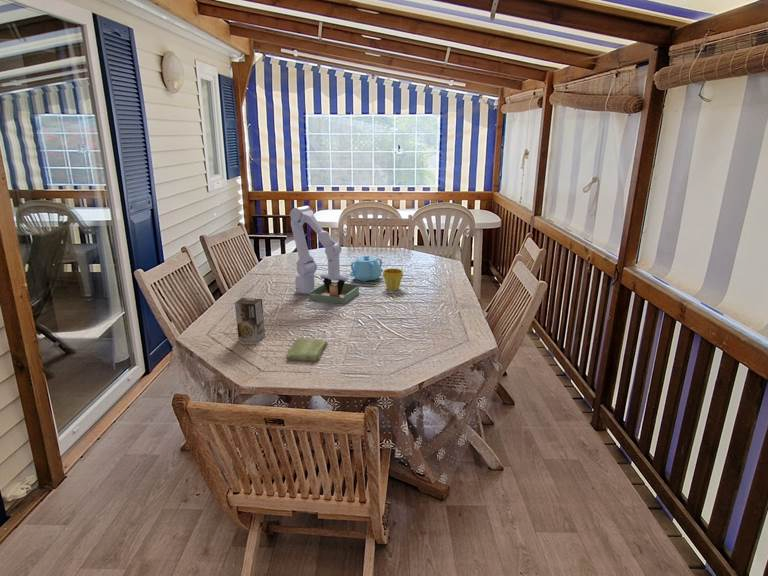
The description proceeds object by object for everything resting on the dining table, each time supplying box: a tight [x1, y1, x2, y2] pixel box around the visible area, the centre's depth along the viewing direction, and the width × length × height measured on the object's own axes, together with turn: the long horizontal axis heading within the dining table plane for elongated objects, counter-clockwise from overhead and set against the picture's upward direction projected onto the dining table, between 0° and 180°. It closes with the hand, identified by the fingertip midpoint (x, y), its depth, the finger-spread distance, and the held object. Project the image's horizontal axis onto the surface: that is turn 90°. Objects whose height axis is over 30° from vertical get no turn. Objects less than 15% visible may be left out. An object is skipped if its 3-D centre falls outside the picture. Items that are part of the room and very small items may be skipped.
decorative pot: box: [349, 254, 384, 283], centre depth 283 cm, size 16×16×14 cm
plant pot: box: [382, 268, 404, 291], centre depth 266 cm, size 10×10×10 cm
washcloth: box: [285, 337, 328, 363], centre depth 191 cm, size 13×18×3 cm
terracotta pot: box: [329, 284, 340, 297], centre depth 253 cm, size 5×5×6 cm
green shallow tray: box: [309, 281, 360, 305], centre depth 254 cm, size 19×17×5 cm
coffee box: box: [234, 297, 266, 342], centre depth 202 cm, size 9×6×16 cm
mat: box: [304, 300, 337, 312], centre depth 241 cm, size 12×10×1 cm
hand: (334, 293), depth 254 cm, fingers closed on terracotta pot, 5 cm apart
